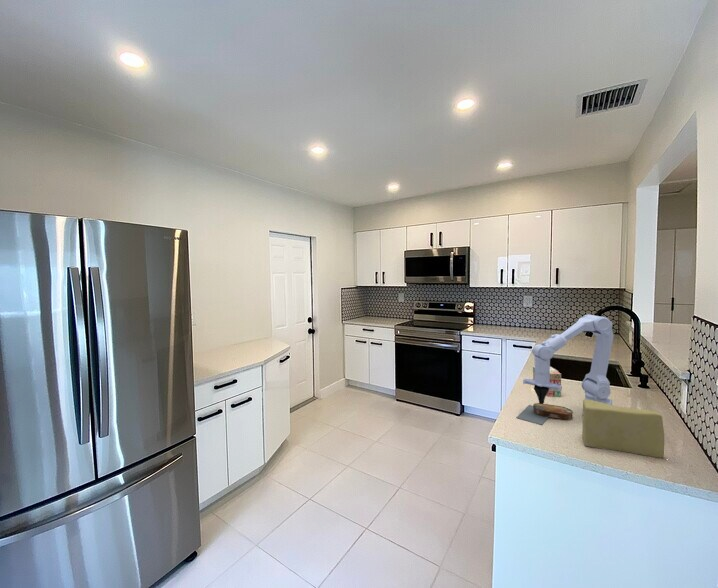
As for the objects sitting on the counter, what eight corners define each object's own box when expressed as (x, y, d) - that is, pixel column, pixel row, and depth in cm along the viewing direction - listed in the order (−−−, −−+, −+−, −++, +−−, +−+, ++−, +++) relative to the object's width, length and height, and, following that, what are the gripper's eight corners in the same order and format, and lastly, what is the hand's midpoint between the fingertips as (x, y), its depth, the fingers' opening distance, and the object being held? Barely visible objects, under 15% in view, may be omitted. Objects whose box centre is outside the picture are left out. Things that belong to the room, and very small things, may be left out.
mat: (553, 411, 143) (553, 410, 143) (542, 425, 130) (542, 424, 130) (528, 405, 150) (529, 404, 150) (516, 418, 137) (516, 417, 137)
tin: (534, 409, 138) (532, 400, 146) (534, 416, 139) (531, 407, 146) (575, 415, 132) (570, 406, 140) (574, 422, 133) (569, 413, 141)
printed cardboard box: (532, 382, 181) (533, 361, 180) (544, 383, 180) (545, 362, 179) (547, 396, 160) (547, 372, 160) (561, 397, 159) (561, 373, 158)
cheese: (659, 450, 110) (660, 408, 109) (667, 465, 102) (669, 419, 101) (581, 434, 122) (582, 396, 121) (583, 446, 114) (584, 405, 113)
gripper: (521, 371, 139) (520, 401, 140) (559, 378, 129) (558, 410, 130) (526, 367, 144) (525, 396, 145) (563, 374, 134) (562, 405, 135)
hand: (541, 403), depth 138 cm, fingers closed
